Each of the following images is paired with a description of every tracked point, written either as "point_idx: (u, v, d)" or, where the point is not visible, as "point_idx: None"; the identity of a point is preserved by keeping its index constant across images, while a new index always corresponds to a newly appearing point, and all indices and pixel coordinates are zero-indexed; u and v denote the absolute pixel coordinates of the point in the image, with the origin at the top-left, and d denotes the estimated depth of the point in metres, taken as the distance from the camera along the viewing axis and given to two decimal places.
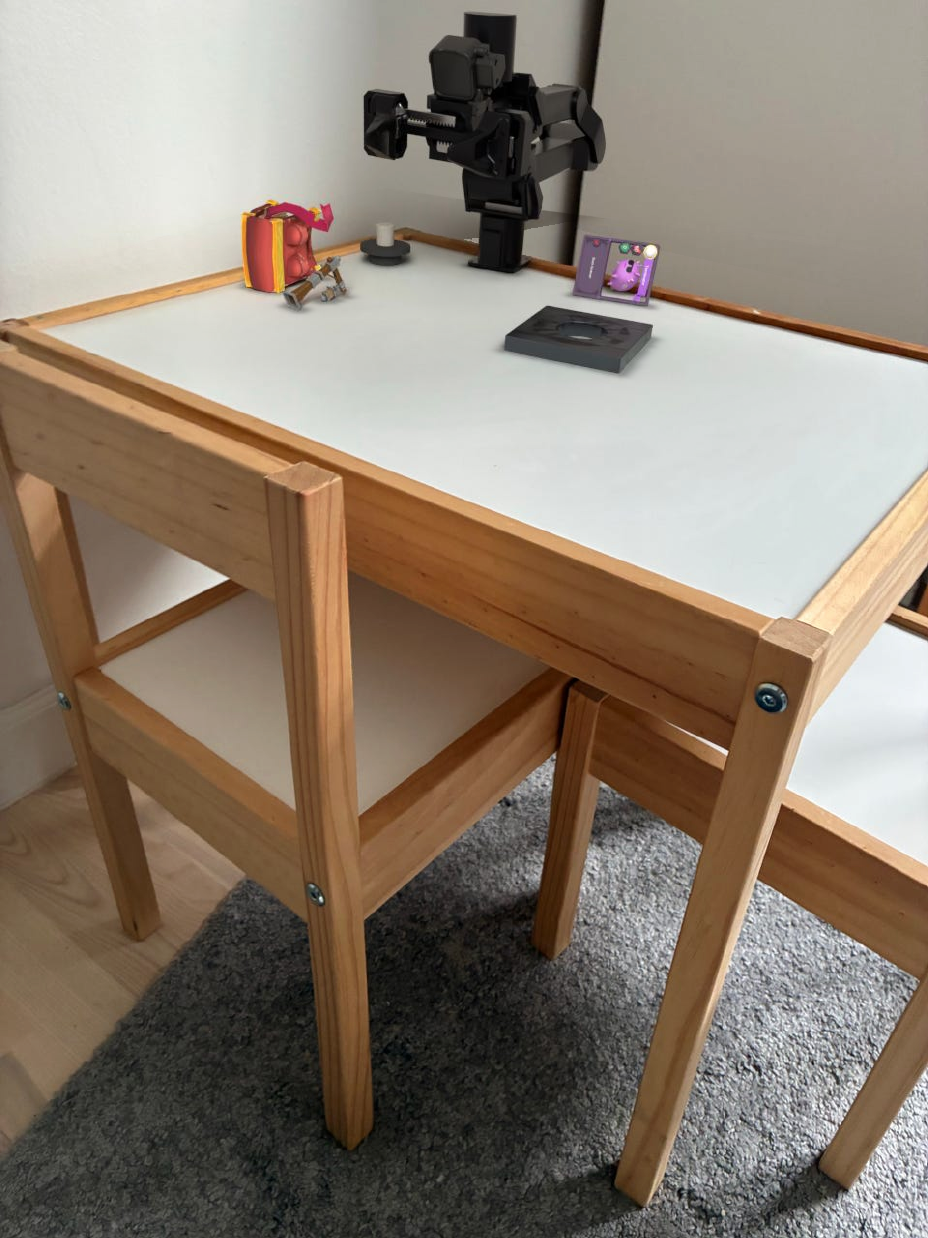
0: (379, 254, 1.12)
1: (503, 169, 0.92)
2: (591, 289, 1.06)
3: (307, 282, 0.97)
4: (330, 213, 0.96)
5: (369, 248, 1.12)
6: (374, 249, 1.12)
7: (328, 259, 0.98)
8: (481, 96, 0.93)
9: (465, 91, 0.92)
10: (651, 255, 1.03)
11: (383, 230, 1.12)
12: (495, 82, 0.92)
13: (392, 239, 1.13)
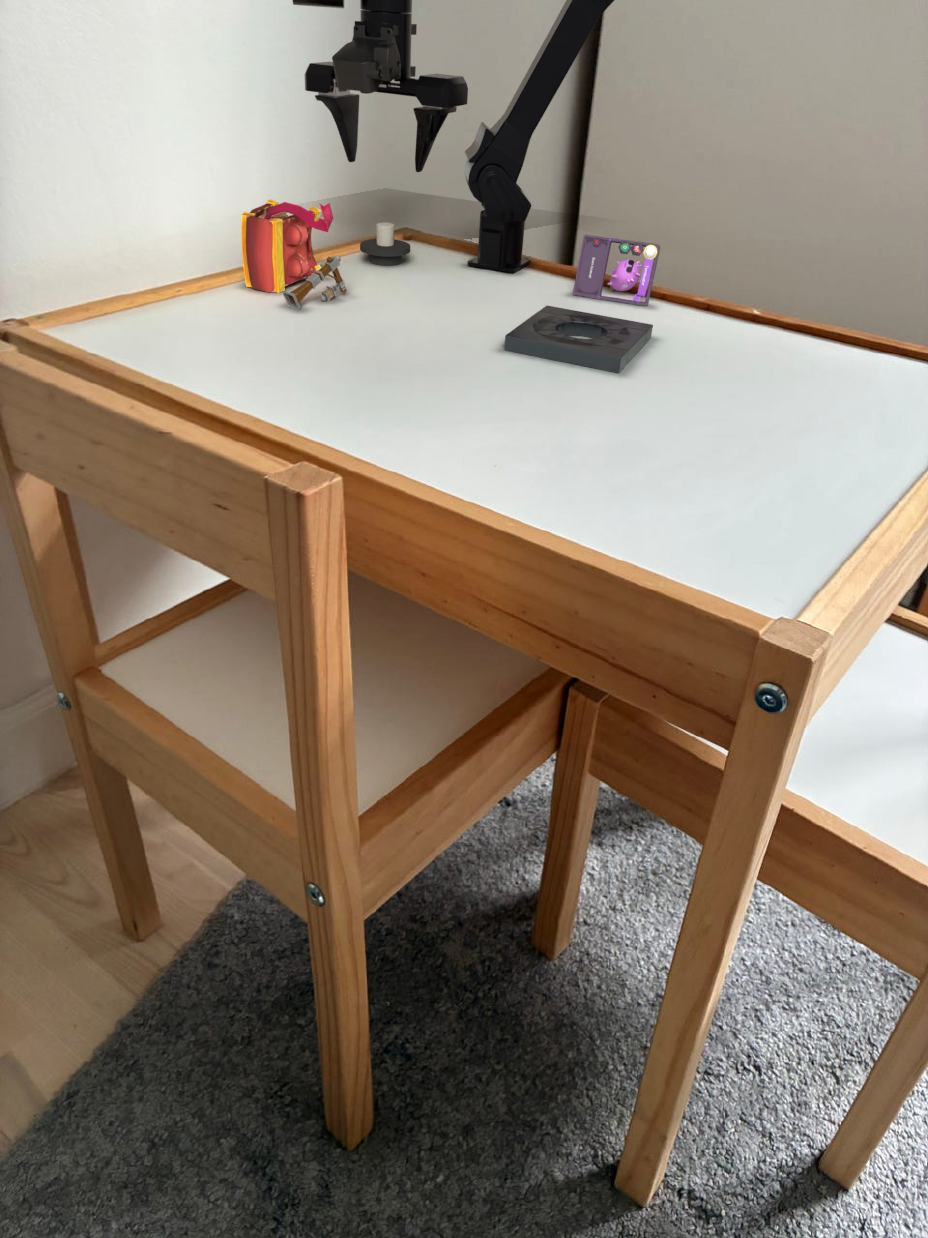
0: (379, 254, 1.12)
1: (452, 112, 1.04)
2: (591, 289, 1.06)
3: (307, 282, 0.97)
4: (330, 212, 0.96)
5: (369, 248, 1.12)
6: (374, 249, 1.12)
7: (328, 259, 0.98)
8: None
9: None
10: (651, 255, 1.03)
11: (383, 230, 1.12)
12: (398, 66, 0.97)
13: (392, 239, 1.13)
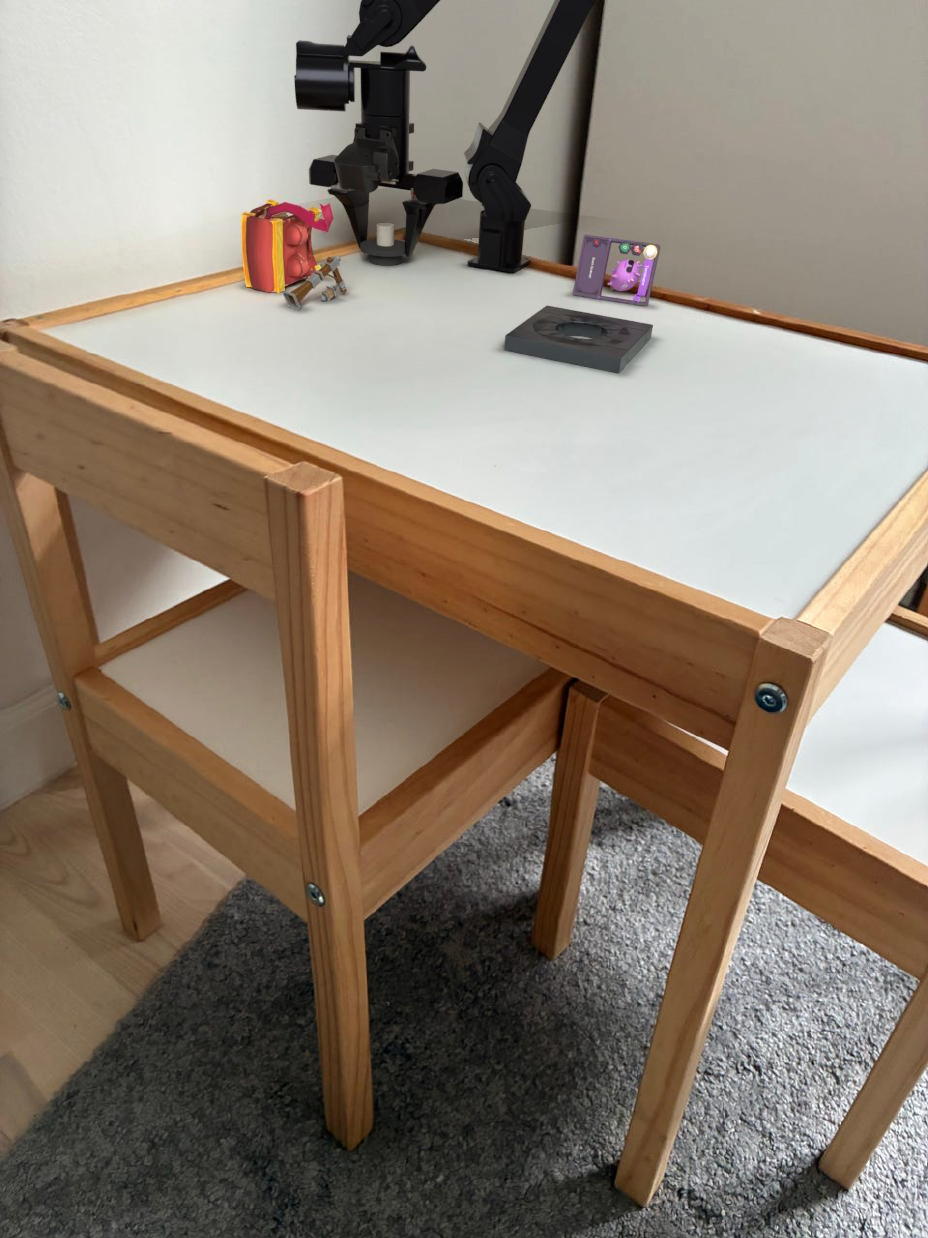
0: (379, 254, 1.12)
1: None
2: (591, 289, 1.06)
3: (307, 282, 0.97)
4: (330, 212, 0.96)
5: (369, 248, 1.12)
6: (374, 249, 1.12)
7: (328, 259, 0.98)
8: None
9: None
10: (651, 255, 1.03)
11: (383, 230, 1.12)
12: (396, 167, 1.03)
13: (392, 239, 1.13)
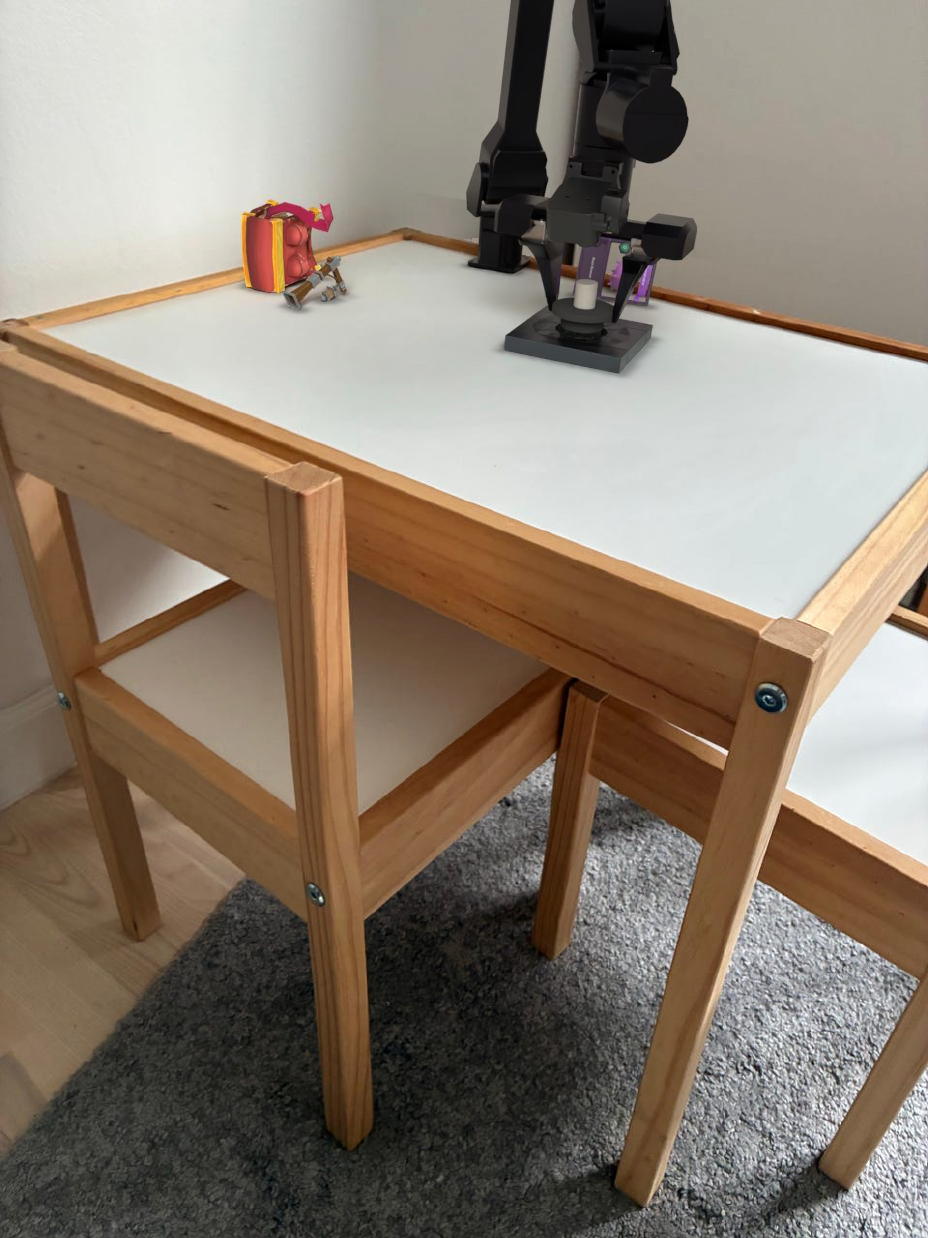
0: (582, 320, 0.88)
1: None
2: None
3: (307, 282, 0.97)
4: (330, 212, 0.96)
5: (568, 312, 0.88)
6: (575, 314, 0.88)
7: (328, 259, 0.98)
8: None
9: None
10: None
11: (586, 290, 0.88)
12: (626, 214, 0.80)
13: (595, 300, 0.89)
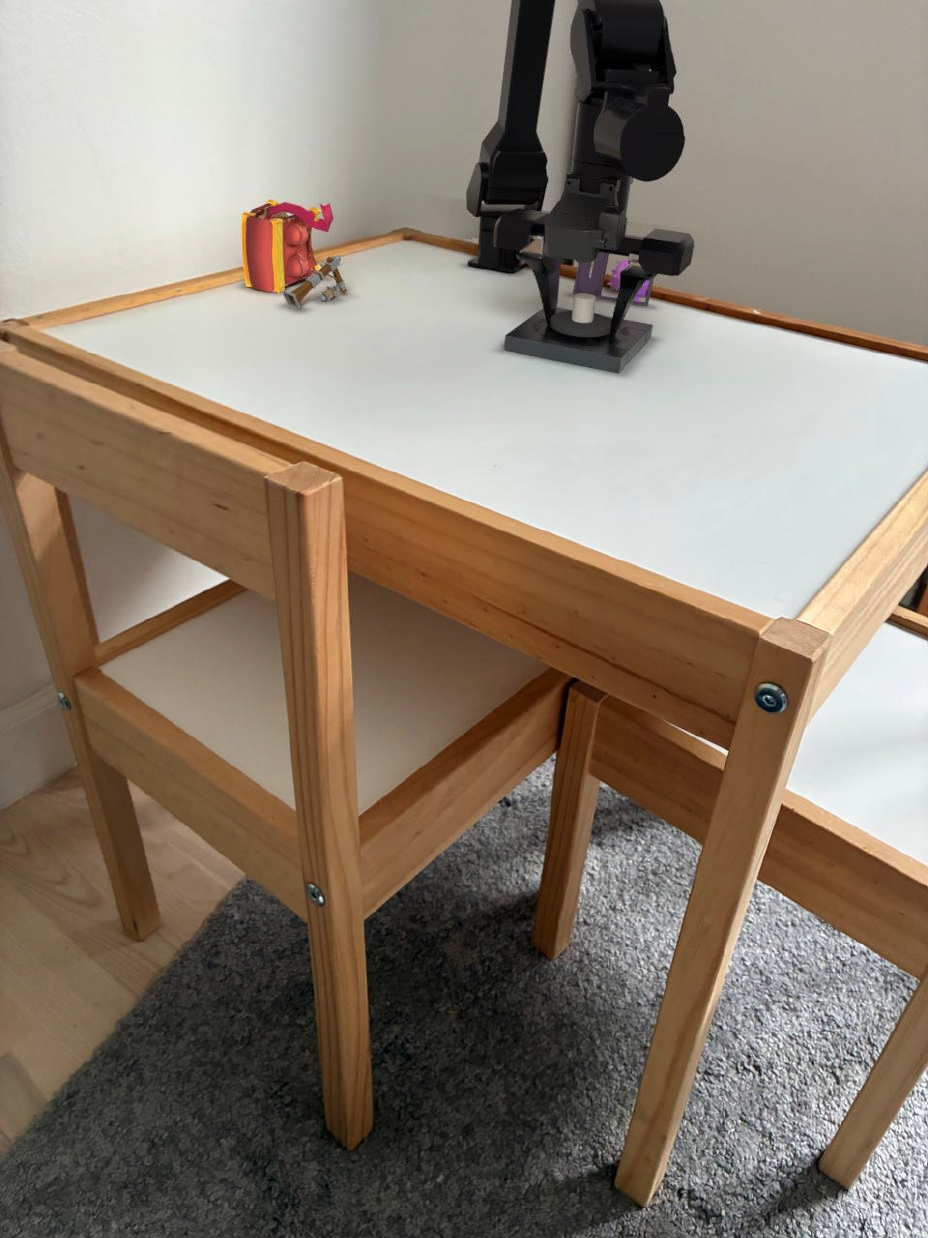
0: (580, 334, 0.89)
1: None
2: (591, 289, 1.06)
3: (307, 282, 0.97)
4: (330, 212, 0.96)
5: (566, 326, 0.89)
6: (573, 328, 0.89)
7: (328, 259, 0.98)
8: None
9: None
10: None
11: (584, 304, 0.89)
12: (624, 231, 0.80)
13: (593, 314, 0.90)
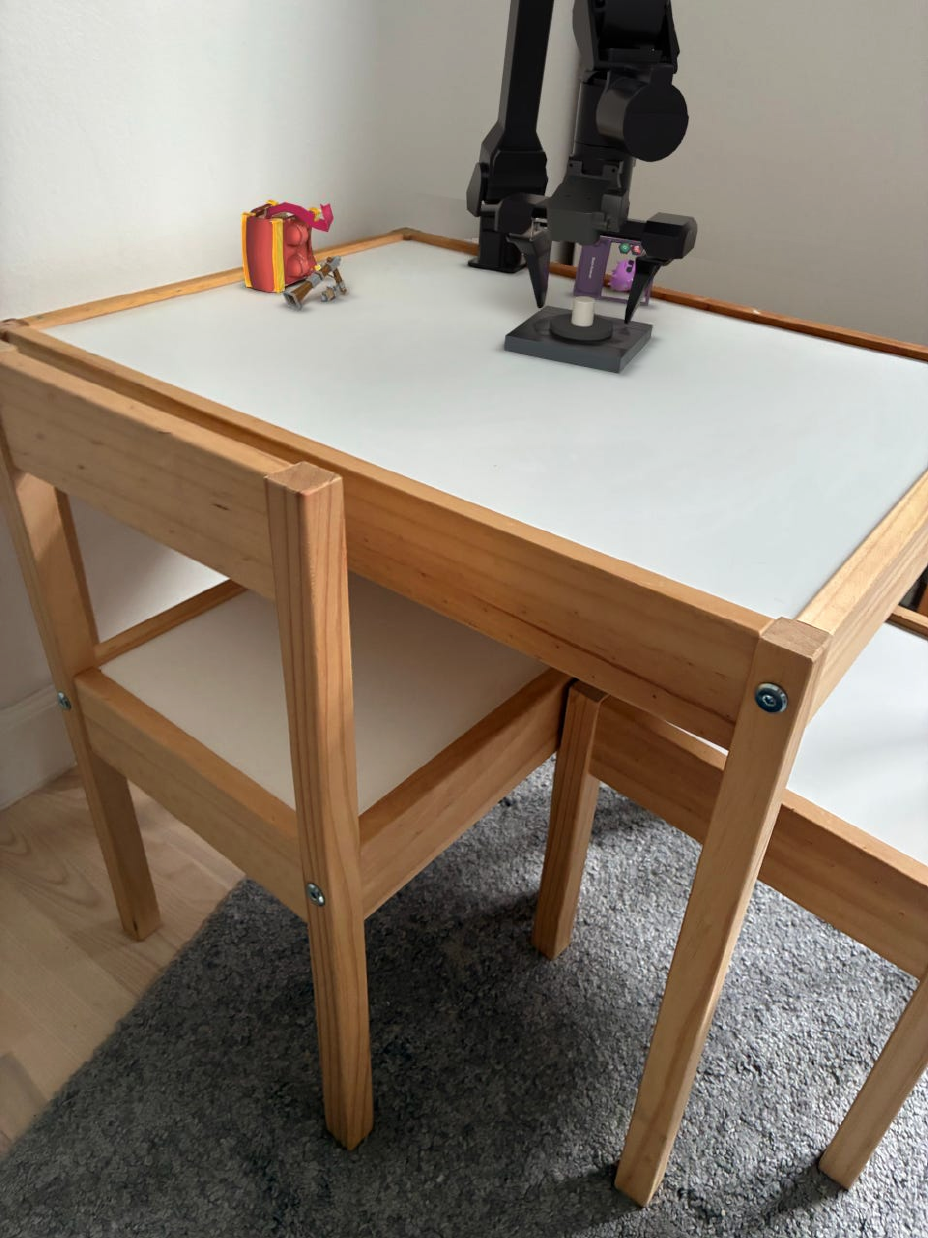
0: (579, 337, 0.89)
1: None
2: (591, 289, 1.06)
3: (307, 282, 0.97)
4: (330, 212, 0.96)
5: (566, 329, 0.89)
6: (573, 331, 0.89)
7: (328, 259, 0.98)
8: None
9: None
10: None
11: (583, 307, 0.89)
12: (626, 213, 0.80)
13: (592, 317, 0.90)
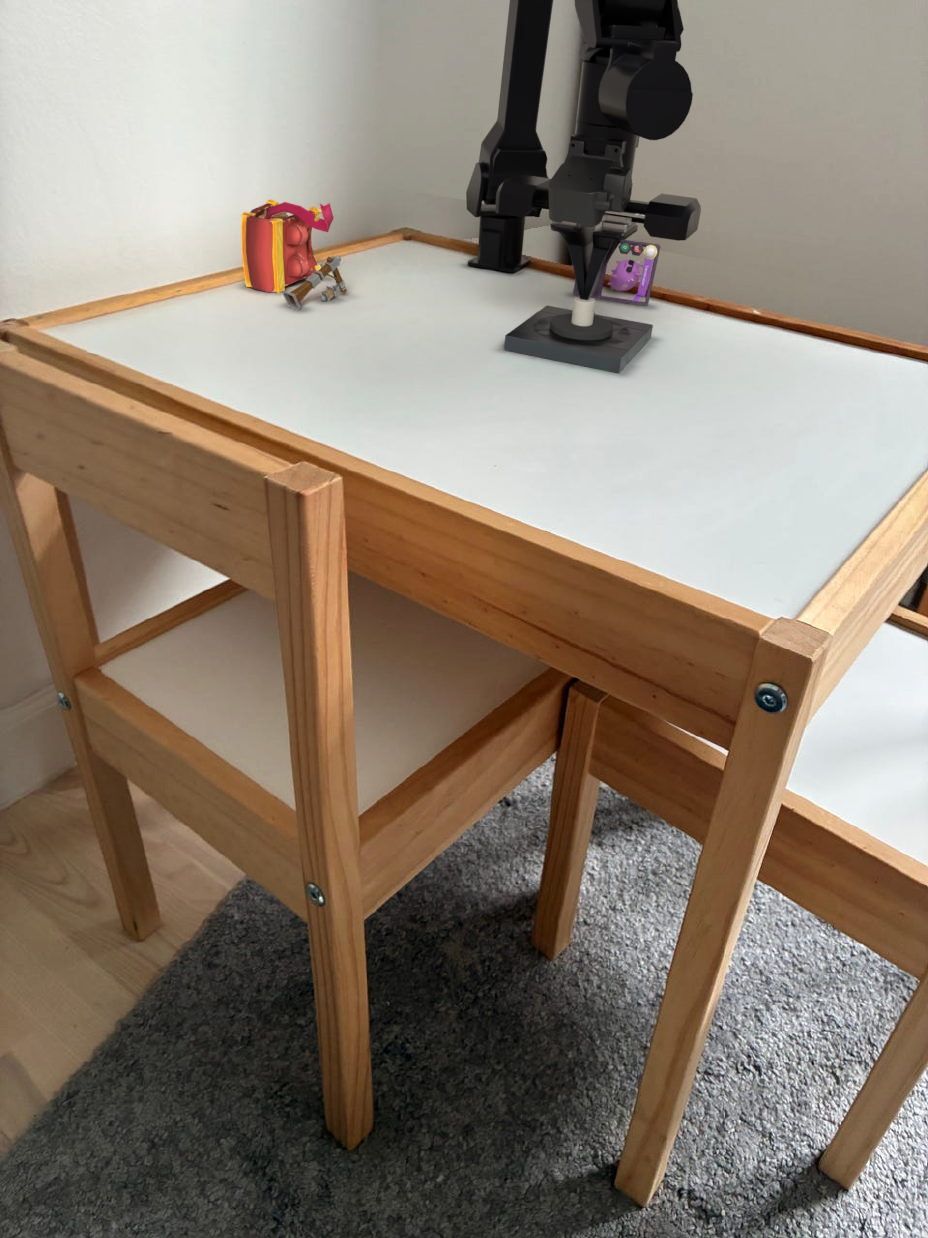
0: (579, 337, 0.89)
1: None
2: None
3: (307, 282, 0.97)
4: (330, 212, 0.96)
5: (566, 329, 0.89)
6: (573, 331, 0.89)
7: (328, 259, 0.98)
8: None
9: None
10: (651, 255, 1.03)
11: (583, 307, 0.89)
12: (629, 193, 0.79)
13: (592, 317, 0.90)
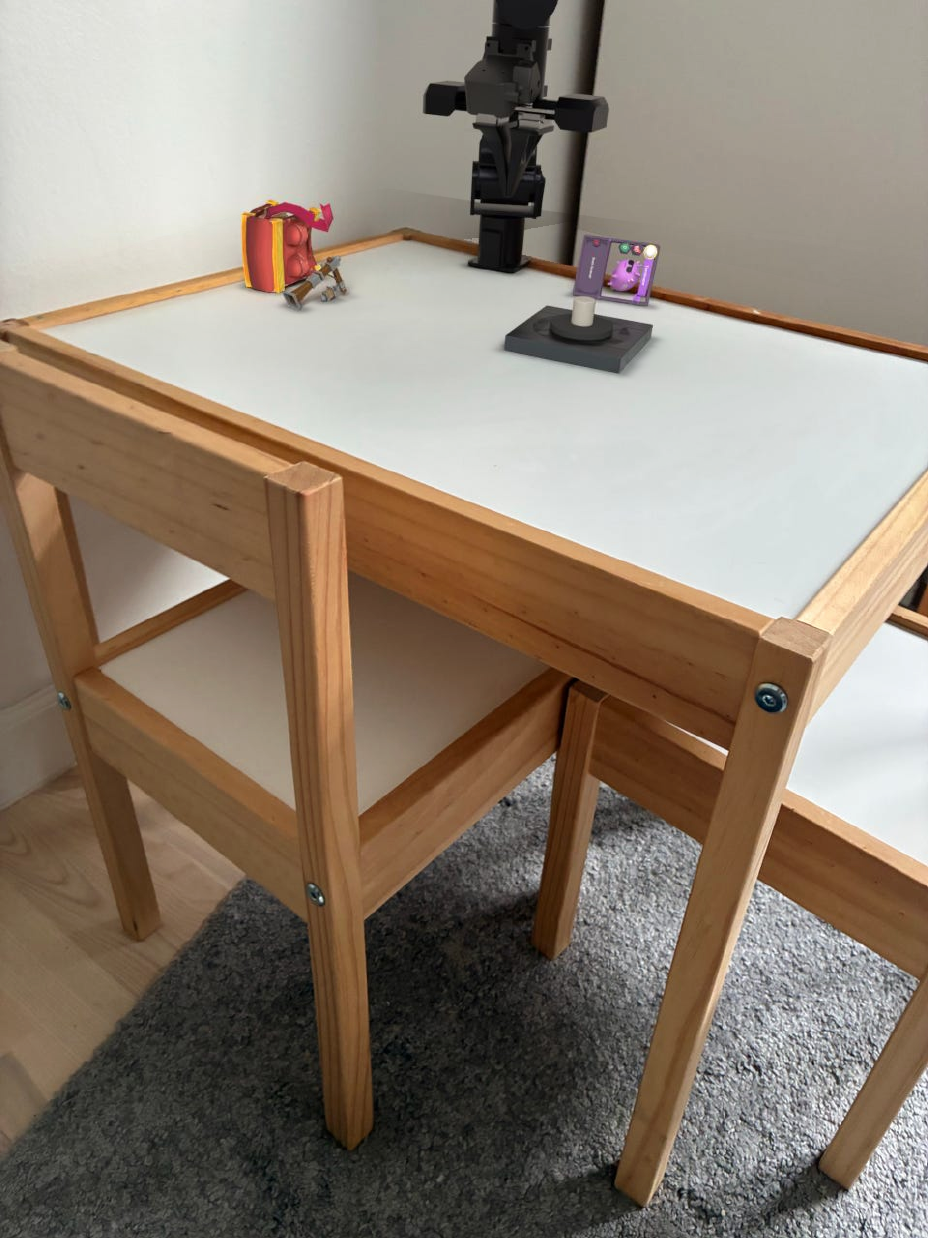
0: (579, 337, 0.89)
1: (549, 131, 0.94)
2: (591, 289, 1.06)
3: (307, 282, 0.97)
4: (330, 212, 0.96)
5: (566, 329, 0.89)
6: (573, 331, 0.89)
7: (328, 259, 0.98)
8: None
9: None
10: (651, 255, 1.03)
11: (583, 307, 0.89)
12: (538, 87, 0.86)
13: (592, 317, 0.90)
